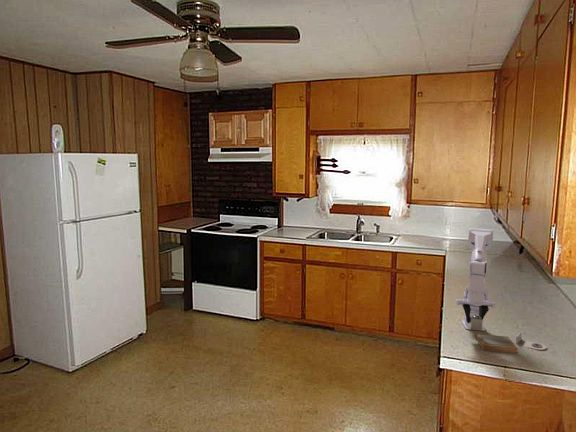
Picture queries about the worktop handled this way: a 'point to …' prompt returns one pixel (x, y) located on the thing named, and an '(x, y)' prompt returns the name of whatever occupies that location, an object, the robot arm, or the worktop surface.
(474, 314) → the housing
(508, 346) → the stand
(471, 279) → the robot arm
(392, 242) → the worktop surface
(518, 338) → the bracket
